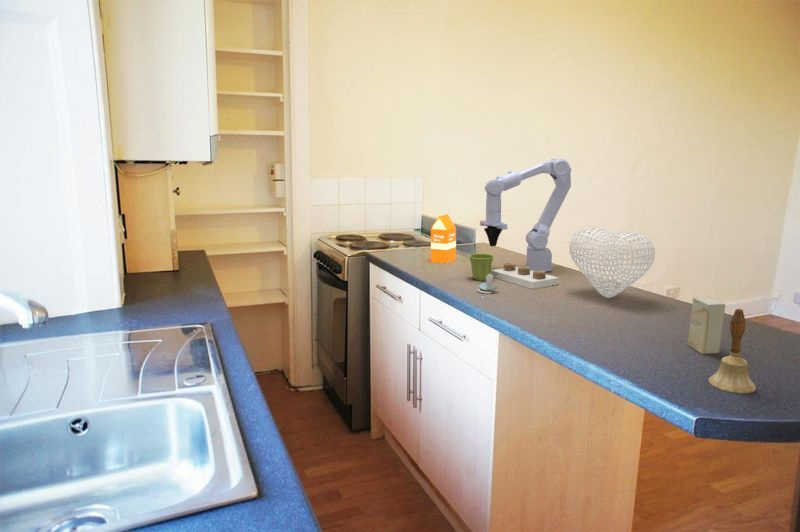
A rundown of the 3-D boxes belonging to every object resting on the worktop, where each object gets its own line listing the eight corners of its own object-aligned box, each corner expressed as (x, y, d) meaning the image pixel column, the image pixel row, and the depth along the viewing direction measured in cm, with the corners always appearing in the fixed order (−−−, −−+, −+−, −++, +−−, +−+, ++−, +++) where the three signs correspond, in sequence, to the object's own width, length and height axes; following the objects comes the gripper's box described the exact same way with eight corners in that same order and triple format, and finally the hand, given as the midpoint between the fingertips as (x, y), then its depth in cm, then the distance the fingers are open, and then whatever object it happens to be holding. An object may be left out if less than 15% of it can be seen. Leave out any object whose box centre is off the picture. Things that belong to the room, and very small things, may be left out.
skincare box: (686, 345, 134) (691, 297, 132) (704, 344, 134) (708, 296, 132) (702, 354, 128) (707, 304, 125) (721, 353, 128) (726, 303, 126)
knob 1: (510, 273, 212) (510, 262, 211) (517, 276, 208) (518, 264, 207) (501, 275, 210) (501, 263, 209) (508, 277, 206) (508, 265, 205)
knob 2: (539, 282, 198) (539, 269, 197) (547, 284, 194) (548, 271, 194) (529, 283, 196) (530, 271, 195) (538, 286, 192) (538, 273, 191)
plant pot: (493, 275, 211) (493, 253, 209) (494, 281, 201) (495, 258, 200) (468, 275, 212) (468, 253, 210) (468, 281, 202) (469, 258, 201)
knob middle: (524, 277, 205) (524, 265, 204) (532, 280, 201) (532, 267, 200) (515, 279, 203) (515, 267, 202) (523, 281, 199) (523, 269, 198)
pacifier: (486, 296, 183) (500, 292, 186) (486, 278, 182) (500, 275, 185) (473, 291, 189) (486, 288, 192) (472, 273, 188) (486, 271, 191)
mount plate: (515, 272, 215) (515, 266, 214) (558, 284, 195) (558, 277, 195) (491, 276, 209) (491, 270, 209) (532, 289, 190) (533, 282, 189)
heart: (661, 303, 169) (667, 232, 165) (629, 311, 162) (634, 237, 157) (589, 285, 193) (592, 222, 188) (557, 291, 185) (560, 226, 181)
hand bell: (751, 397, 106) (760, 318, 103) (703, 386, 111) (711, 310, 108) (759, 383, 112) (768, 308, 109) (714, 373, 118) (721, 301, 114)
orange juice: (456, 260, 242) (456, 214, 237) (446, 263, 234) (446, 217, 230) (440, 258, 246) (440, 213, 242) (430, 262, 238) (430, 216, 234)
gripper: (473, 210, 216) (473, 244, 219) (497, 213, 204) (496, 249, 207) (488, 209, 220) (487, 242, 223) (512, 212, 207) (511, 247, 210)
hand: (493, 245), depth 215 cm, fingers closed
